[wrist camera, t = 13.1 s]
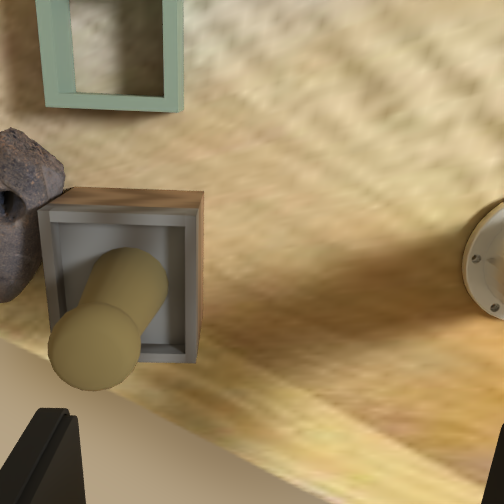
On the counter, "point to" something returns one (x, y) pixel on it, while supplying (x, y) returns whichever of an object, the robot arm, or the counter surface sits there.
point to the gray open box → (133, 236)
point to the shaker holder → (65, 96)
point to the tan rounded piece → (108, 320)
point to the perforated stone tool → (23, 207)
